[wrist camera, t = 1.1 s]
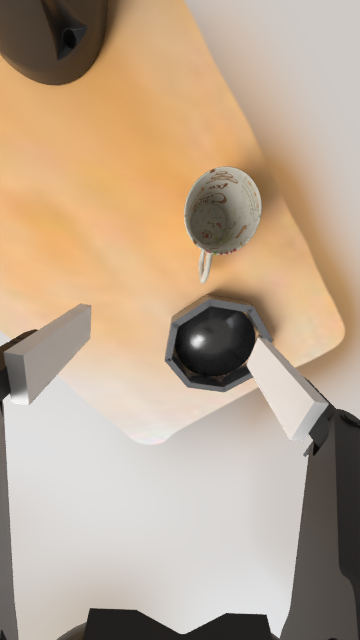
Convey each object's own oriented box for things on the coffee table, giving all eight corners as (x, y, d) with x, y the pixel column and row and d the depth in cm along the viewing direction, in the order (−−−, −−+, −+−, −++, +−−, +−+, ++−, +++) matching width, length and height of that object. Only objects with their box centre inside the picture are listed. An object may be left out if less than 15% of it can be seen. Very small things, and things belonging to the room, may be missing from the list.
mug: (240, 196, 28) (271, 172, 19) (223, 280, 33) (243, 294, 23) (184, 189, 28) (189, 160, 18) (176, 275, 32) (176, 287, 23)
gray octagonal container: (176, 288, 33) (176, 292, 30) (275, 306, 34) (284, 311, 32) (161, 373, 39) (160, 383, 37) (244, 385, 41) (249, 395, 38)
